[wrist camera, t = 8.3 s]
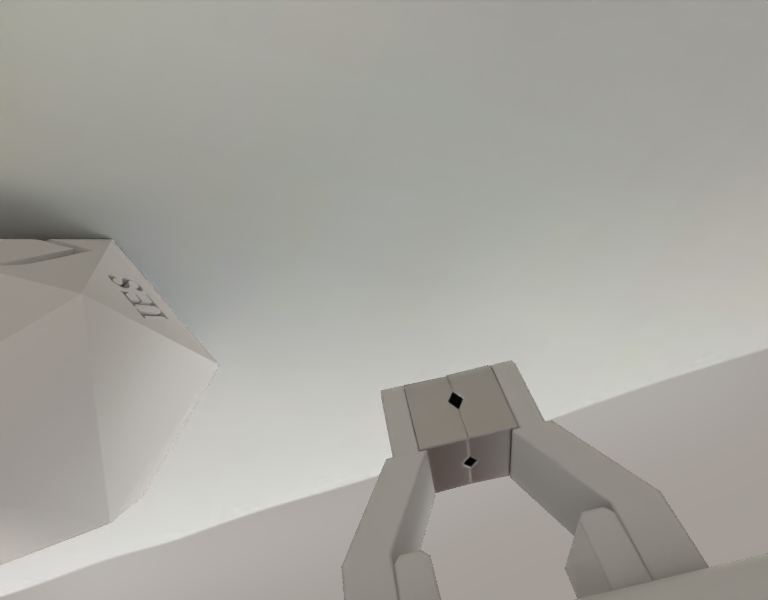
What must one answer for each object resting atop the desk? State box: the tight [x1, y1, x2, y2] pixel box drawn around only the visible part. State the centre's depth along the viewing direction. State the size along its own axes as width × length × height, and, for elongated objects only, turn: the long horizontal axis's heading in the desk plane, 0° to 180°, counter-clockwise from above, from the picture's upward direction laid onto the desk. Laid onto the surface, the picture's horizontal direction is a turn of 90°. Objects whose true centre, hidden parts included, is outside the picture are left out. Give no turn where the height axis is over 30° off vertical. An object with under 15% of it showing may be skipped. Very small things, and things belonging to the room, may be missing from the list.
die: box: [0, 239, 219, 565], centre depth 13 cm, size 8×9×10 cm
